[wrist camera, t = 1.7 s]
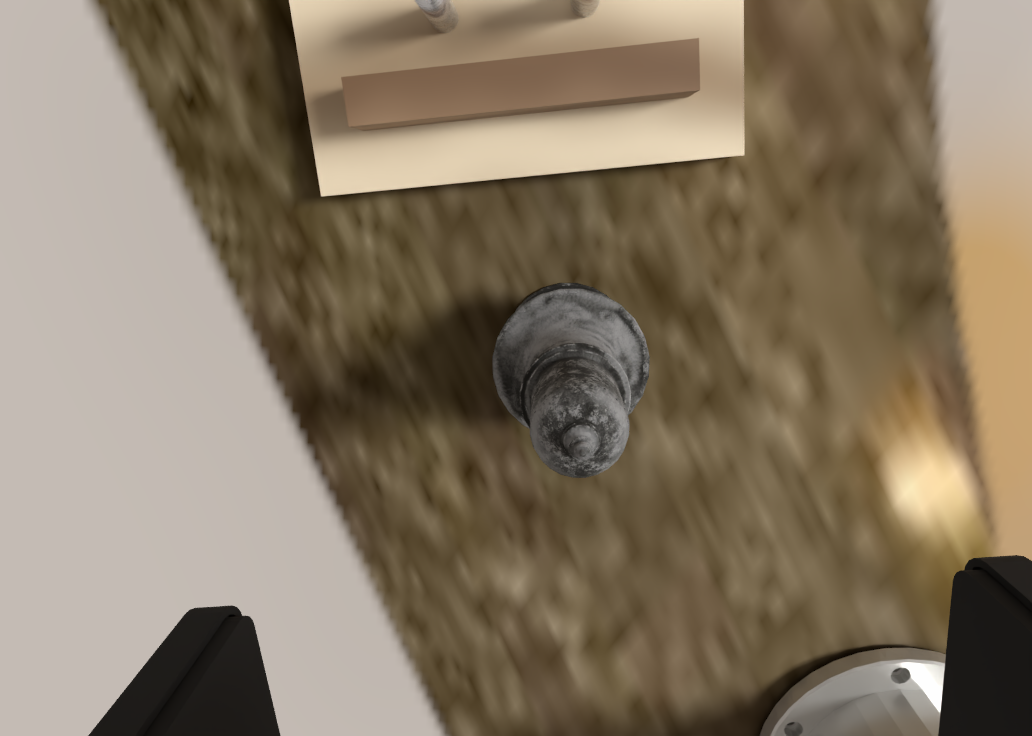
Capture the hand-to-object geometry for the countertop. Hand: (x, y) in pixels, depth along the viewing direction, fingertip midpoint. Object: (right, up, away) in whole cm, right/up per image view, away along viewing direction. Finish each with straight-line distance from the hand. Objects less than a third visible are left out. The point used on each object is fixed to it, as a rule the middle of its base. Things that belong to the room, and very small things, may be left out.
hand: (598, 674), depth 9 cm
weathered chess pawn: (+1, +5, +20) cm, 21 cm away
